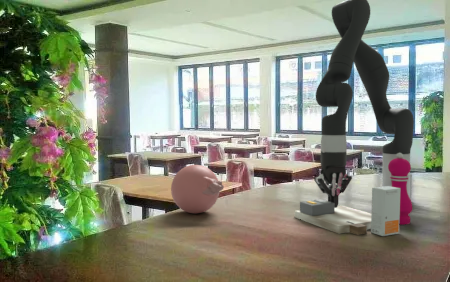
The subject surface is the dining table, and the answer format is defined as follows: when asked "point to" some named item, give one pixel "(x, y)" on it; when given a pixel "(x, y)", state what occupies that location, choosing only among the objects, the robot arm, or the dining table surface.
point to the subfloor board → (340, 220)
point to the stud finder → (317, 207)
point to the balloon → (195, 189)
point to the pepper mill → (401, 185)
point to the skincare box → (385, 210)
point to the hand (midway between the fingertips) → (333, 207)
